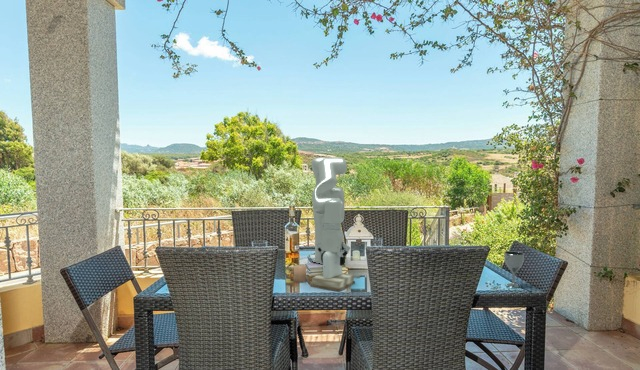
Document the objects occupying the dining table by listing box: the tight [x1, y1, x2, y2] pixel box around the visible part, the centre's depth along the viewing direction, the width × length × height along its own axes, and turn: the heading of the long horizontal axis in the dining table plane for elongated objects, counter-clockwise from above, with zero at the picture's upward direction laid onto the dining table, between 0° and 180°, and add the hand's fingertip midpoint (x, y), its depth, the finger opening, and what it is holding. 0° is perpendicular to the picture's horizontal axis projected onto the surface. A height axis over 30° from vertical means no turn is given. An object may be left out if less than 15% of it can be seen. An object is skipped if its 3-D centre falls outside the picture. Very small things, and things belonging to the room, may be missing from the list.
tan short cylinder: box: [293, 264, 307, 283], centre depth 201 cm, size 6×6×7 cm
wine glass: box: [504, 250, 525, 288], centre depth 191 cm, size 8×8×15 cm
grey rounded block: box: [322, 251, 343, 279], centre depth 194 cm, size 10×4×12 cm, turn 135°
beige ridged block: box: [310, 272, 356, 293], centre depth 194 cm, size 15×15×4 cm
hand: (333, 263), depth 194 cm, fingers open, 9 cm apart
